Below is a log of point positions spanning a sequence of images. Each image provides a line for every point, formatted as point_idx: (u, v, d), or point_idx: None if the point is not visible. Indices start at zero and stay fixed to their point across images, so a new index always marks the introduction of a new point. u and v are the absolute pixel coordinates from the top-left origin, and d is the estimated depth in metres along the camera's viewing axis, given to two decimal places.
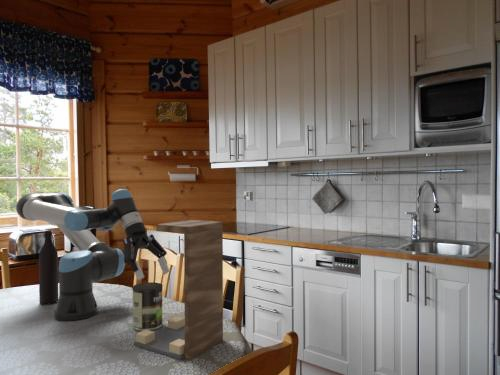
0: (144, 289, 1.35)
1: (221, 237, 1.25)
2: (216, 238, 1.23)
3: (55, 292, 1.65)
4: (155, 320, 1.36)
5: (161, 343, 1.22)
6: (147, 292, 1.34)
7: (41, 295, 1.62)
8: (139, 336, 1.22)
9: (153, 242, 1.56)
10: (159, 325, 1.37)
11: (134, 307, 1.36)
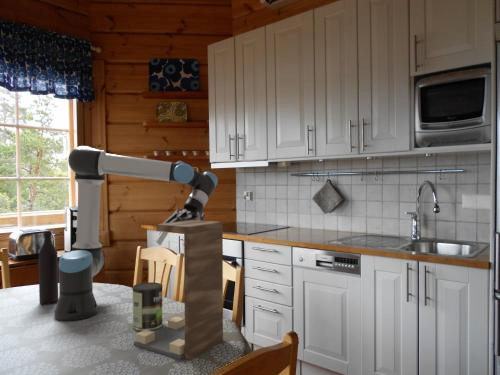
0: (144, 289, 1.35)
1: (221, 237, 1.25)
2: (216, 238, 1.23)
3: (55, 292, 1.65)
4: (155, 320, 1.36)
5: (161, 343, 1.22)
6: (147, 292, 1.34)
7: (41, 295, 1.62)
8: (139, 336, 1.22)
9: (175, 218, 1.62)
10: (159, 325, 1.37)
11: (134, 307, 1.36)
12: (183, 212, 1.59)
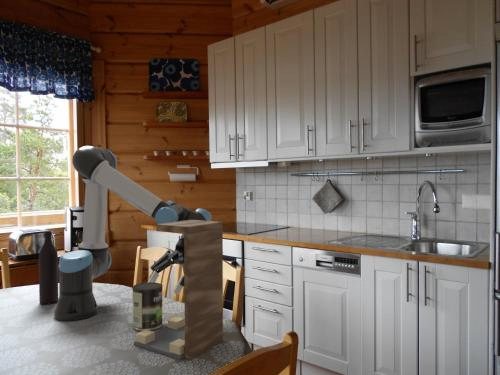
0: (144, 289, 1.35)
1: (221, 237, 1.25)
2: (216, 238, 1.23)
3: (55, 292, 1.65)
4: (155, 320, 1.36)
5: (161, 343, 1.22)
6: (147, 292, 1.34)
7: (41, 295, 1.62)
8: (139, 336, 1.22)
9: (167, 259, 1.54)
10: (159, 325, 1.37)
11: (134, 307, 1.36)
12: (174, 254, 1.51)
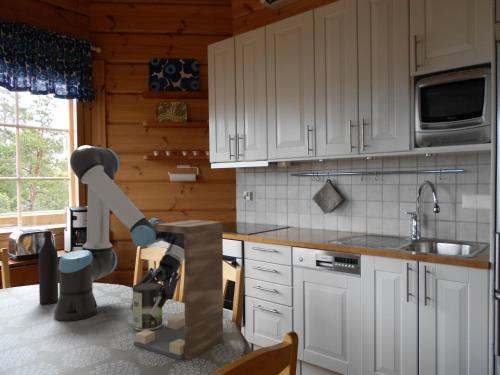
0: (144, 289, 1.35)
1: (221, 237, 1.25)
2: (216, 238, 1.23)
3: (55, 292, 1.65)
4: (155, 320, 1.36)
5: (161, 343, 1.22)
6: (147, 292, 1.34)
7: (41, 295, 1.62)
8: (139, 336, 1.22)
9: (150, 277, 1.48)
10: (159, 325, 1.37)
11: (134, 307, 1.36)
12: (158, 271, 1.45)
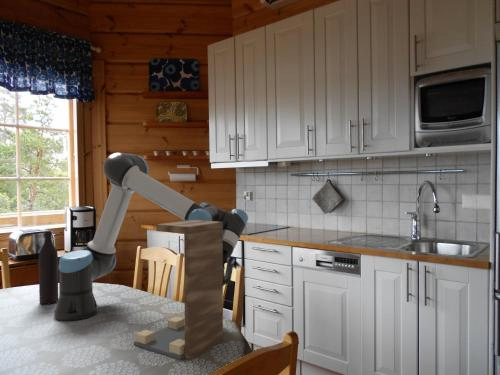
0: None
1: (221, 237, 1.25)
2: (216, 238, 1.23)
3: (55, 292, 1.65)
4: None
5: (161, 343, 1.22)
6: None
7: (41, 295, 1.62)
8: (139, 336, 1.22)
9: None
10: None
11: None
12: None
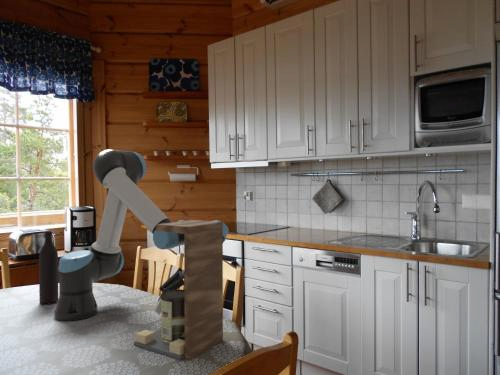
0: (174, 297, 1.22)
1: (221, 237, 1.25)
2: (216, 238, 1.23)
3: (55, 292, 1.65)
4: None
5: (161, 343, 1.22)
6: (177, 301, 1.21)
7: (41, 295, 1.62)
8: (139, 336, 1.22)
9: (178, 278, 1.35)
10: None
11: (163, 317, 1.23)
12: None
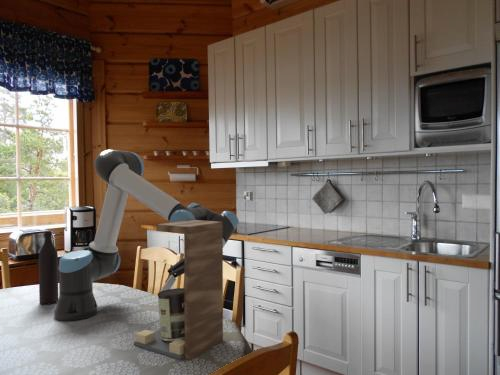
0: (171, 294, 1.23)
1: (221, 237, 1.25)
2: (216, 238, 1.23)
3: (55, 292, 1.65)
4: None
5: (161, 343, 1.22)
6: (174, 297, 1.22)
7: (41, 295, 1.62)
8: (139, 336, 1.22)
9: None
10: None
11: (161, 316, 1.23)
12: None
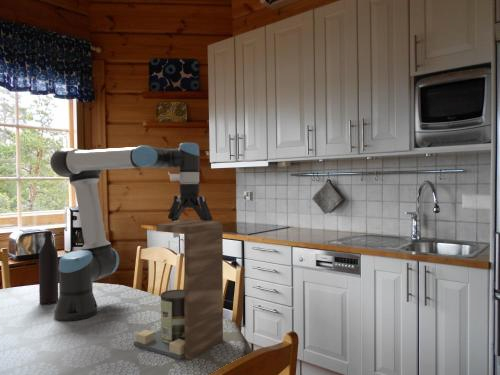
0: (174, 297, 1.22)
1: (221, 237, 1.25)
2: (216, 238, 1.23)
3: (55, 292, 1.65)
4: None
5: (161, 343, 1.22)
6: (177, 301, 1.21)
7: (41, 295, 1.62)
8: (139, 336, 1.22)
9: (178, 203, 1.55)
10: None
11: (163, 317, 1.23)
12: (183, 201, 1.51)
